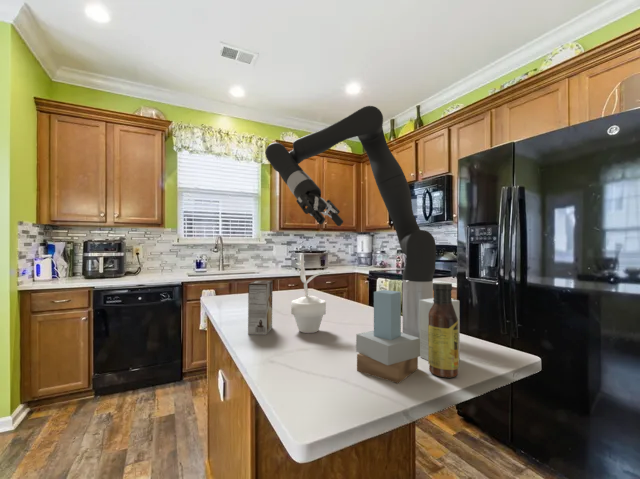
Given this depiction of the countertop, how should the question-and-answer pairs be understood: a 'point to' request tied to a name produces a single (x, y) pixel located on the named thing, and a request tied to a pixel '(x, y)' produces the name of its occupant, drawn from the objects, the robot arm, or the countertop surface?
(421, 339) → the skincare box
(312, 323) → the potted plant
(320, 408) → the countertop surface
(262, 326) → the coffee box
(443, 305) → the sauce bottle
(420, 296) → the robot arm
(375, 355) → the block top
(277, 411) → the countertop surface
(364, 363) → the block bottom
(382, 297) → the blue block
